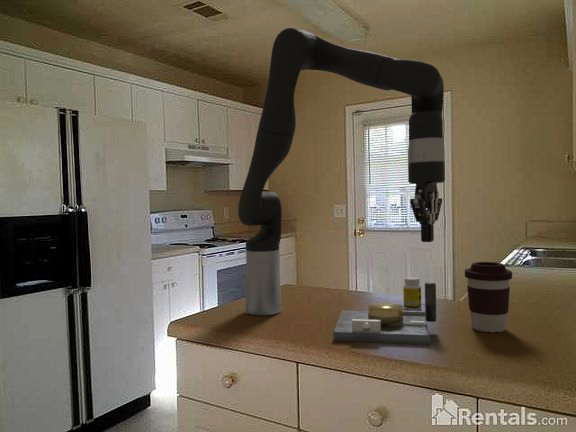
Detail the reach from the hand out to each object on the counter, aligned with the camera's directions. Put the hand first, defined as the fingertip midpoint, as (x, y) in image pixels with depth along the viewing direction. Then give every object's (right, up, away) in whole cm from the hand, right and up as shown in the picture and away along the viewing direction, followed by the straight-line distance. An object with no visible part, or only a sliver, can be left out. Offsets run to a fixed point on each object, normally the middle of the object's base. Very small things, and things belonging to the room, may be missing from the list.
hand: (427, 241), depth 99 cm
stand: (-8, -21, +8) cm, 24 cm away
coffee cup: (+16, -21, +6) cm, 27 cm away
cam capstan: (-4, -18, +7) cm, 20 cm away
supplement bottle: (+4, -20, +27) cm, 34 cm away
